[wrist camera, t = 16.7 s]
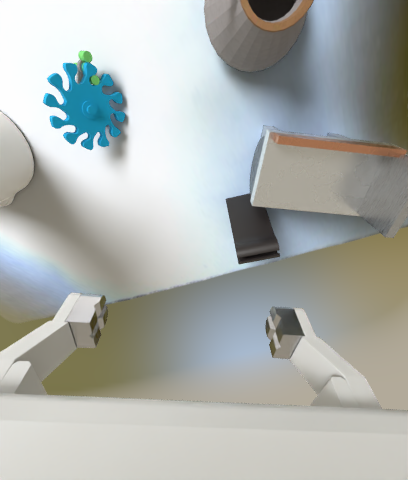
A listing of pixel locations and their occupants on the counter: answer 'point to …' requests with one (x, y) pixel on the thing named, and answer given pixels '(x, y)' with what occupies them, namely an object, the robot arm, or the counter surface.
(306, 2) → the coffee pot
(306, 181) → the trolley
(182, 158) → the counter surface
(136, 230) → the counter surface
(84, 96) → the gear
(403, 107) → the counter surface
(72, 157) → the counter surface
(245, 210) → the phone stand
